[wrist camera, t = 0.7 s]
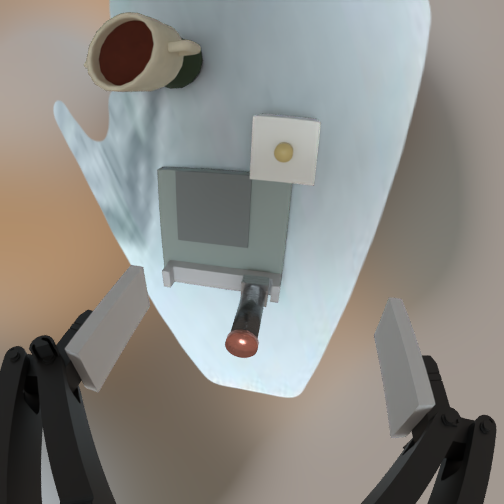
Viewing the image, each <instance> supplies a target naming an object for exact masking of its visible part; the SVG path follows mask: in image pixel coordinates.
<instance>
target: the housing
mask: <svg viewBox="0 0 504 504" xmlns="http://www.w3.org/2000/svg"><path fill="white" fill-rule="evenodd" d="M320 125H321V122H320V121H319V120H317V119H314V118H306V117H297V116H287V115H276V114H263V113H262V114H258V115H254V116H253V125H252V143H251V161H250V179H255V180H266V181H276V182H285V183H294V184H302V185H311V186H314V180H315V172H316V163H317V154H318V145H319V135H320Z"/></svg>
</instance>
